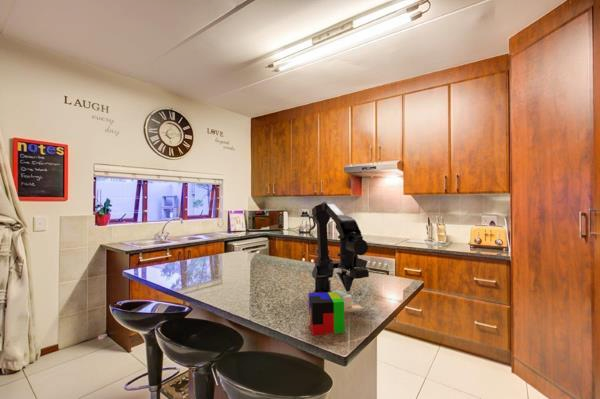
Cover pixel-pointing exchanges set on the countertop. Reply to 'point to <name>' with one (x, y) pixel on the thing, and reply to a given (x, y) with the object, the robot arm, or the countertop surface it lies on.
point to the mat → (353, 308)
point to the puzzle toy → (326, 313)
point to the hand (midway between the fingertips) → (347, 291)
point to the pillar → (345, 298)
